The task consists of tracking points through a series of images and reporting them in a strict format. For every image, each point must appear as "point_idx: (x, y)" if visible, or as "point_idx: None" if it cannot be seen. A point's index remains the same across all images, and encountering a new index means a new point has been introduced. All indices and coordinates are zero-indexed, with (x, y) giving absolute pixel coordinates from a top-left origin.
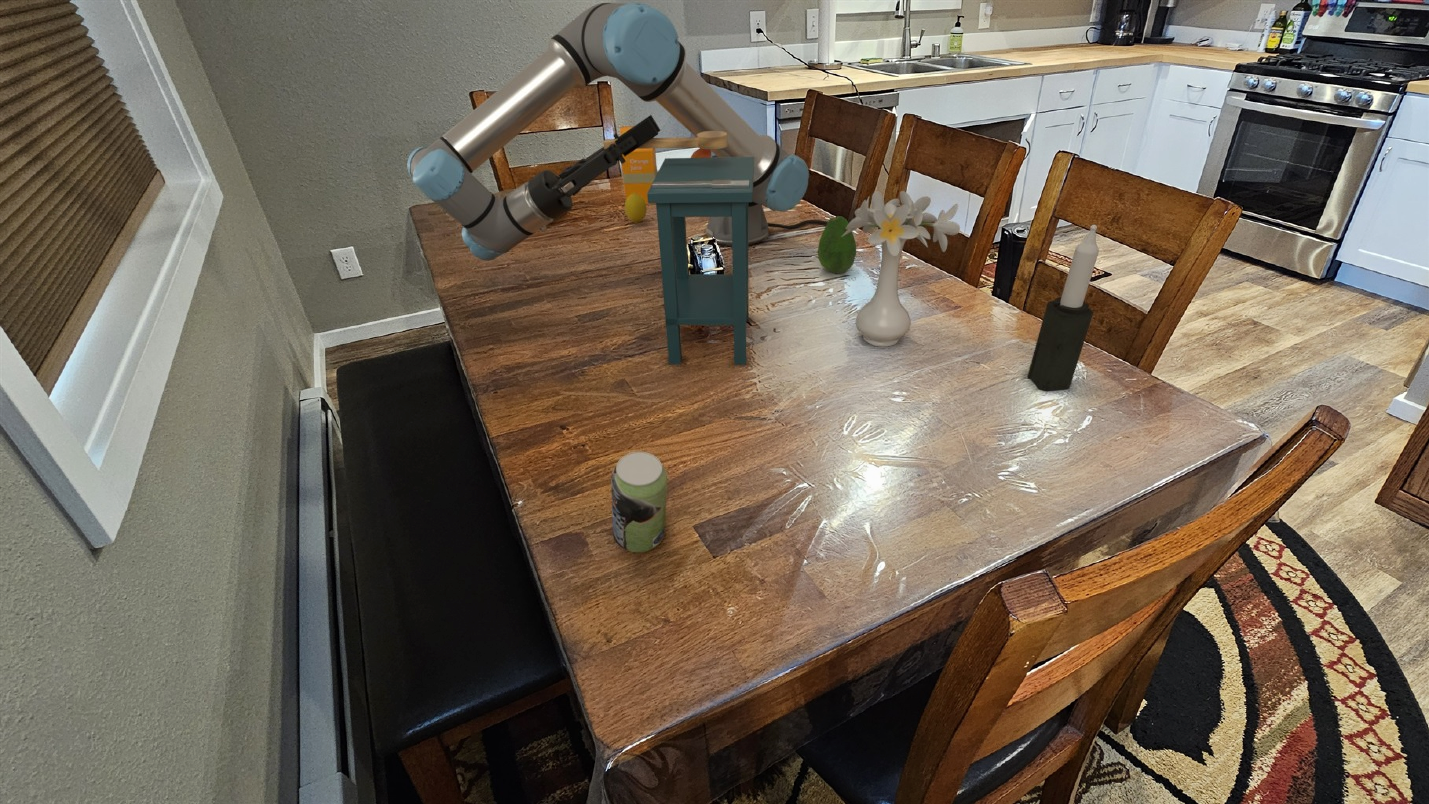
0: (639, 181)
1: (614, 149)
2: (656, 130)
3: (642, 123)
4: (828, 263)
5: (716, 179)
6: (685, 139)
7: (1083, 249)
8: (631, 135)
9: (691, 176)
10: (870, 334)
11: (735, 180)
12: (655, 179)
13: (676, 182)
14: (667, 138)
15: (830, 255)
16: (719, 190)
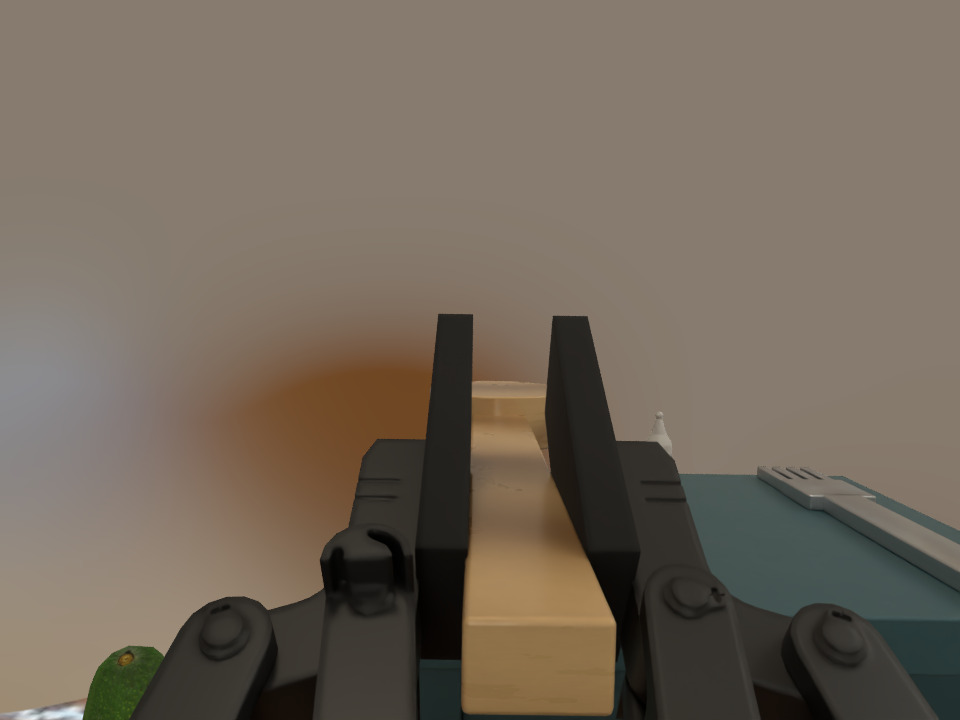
0: None
1: (736, 606)
2: (546, 395)
3: (590, 349)
4: None
5: (744, 507)
6: (522, 425)
7: (668, 441)
8: (621, 448)
9: (730, 541)
10: None
11: (777, 477)
12: (863, 613)
13: (931, 542)
14: (492, 444)
15: None
16: (881, 504)
